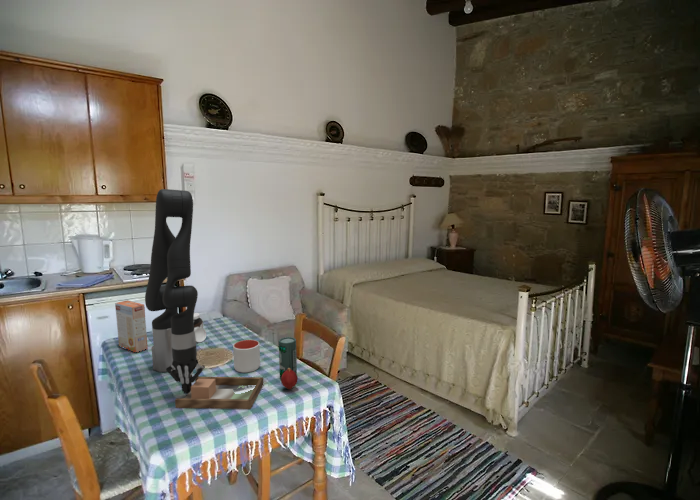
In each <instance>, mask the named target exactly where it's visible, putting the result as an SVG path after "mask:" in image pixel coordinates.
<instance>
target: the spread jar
mask: <svg viewBox="0 0 700 500" xmlns="http://www.w3.org/2000/svg"><path fill="white" fill-rule="evenodd" d="M200 315H201V314H200V313H198V312H194V332H195V337H196V343H201V342H202V343H203V342H204V341H205V340H206V337H207V331H206V329H205V327H204V321H203V319H202V318H201V316H200Z"/></svg>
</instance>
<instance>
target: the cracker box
mask: <svg viewBox="0 0 700 500" xmlns="http://www.w3.org/2000/svg"><path fill="white" fill-rule="evenodd" d="M114 304H115V316H116V327H117V337H118V339H117V341H118V347H119V346H121V347H124V348H126V349H128V350H127V351H129V350H131V351H133V352H132V353H134V352H137V353H140V352H143V351H146V350H148V349H149V347H148V336H147V335H148V334H147V333H148V332H147V322H146V312H145V311H146V309H145V307H146V306H145V303H144V304H143V303H139V302H136V301H131V300H128V299H127V300H123V301H118V302H115V303H114ZM121 347H120V348H121ZM126 349H125V350H126ZM145 349H146V350H145ZM142 350H143V351H142ZM131 351H130V352H131ZM139 351H140V352H139Z"/></svg>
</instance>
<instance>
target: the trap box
mask: <svg viewBox="0 0 700 500" xmlns="http://www.w3.org/2000/svg"><path fill="white" fill-rule="evenodd" d="M198 379H215V381H216V392H215V393H214V394H213V396H212V397H211V398H210V399H192V397H191V391H190V392H189V393H188V394H186V395H185V397H184V398H181V397H180V398H179V397H178V398H175V400H174V403H175V405H174V407H175V409H221V410H222V409H223V410H224V409H227V410H233V409H234V410H251V409H252V407H253V405H254V403H255V402H256V400H257V398H258V396H259V394H260V392H261V390H262V388H263V387H262V385H263V383H264V377H261V376H258V377H257V376H256V377H255V376H254V377H253V376H251V377H249V376H248V377H247V376H246V377H245V376H198V377H197V379H196V380H195V381H194V382H196V381H197V380H198ZM242 385H243V386H242ZM248 385H256V386H255V388H254V389H253V390H250V391H248V392H245V393H241V394H235V393H234V392H233V389H238V388H240V387H242V388H244V387H245V386H248ZM263 386H264V385H263Z"/></svg>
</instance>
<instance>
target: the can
mask: <svg viewBox="0 0 700 500" xmlns="http://www.w3.org/2000/svg"><path fill="white" fill-rule="evenodd" d="M278 361H279V365H278V367H279V381H280V382H281V377H282V374H283V373H284V372H285V371H286V370H287V369H288V368H290V369H291V370H293V371H294V372H295V373H296V374H297V375H298V369H297V368H298V367H297V366H298V365H297V362H298V361H297V339H296V337H293V336H286V337H281V338H279V340H278Z"/></svg>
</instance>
